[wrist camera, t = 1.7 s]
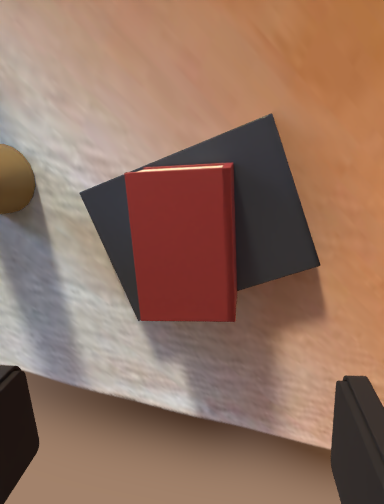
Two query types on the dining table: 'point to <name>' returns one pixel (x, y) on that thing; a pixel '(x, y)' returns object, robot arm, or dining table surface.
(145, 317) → the pocket dictionary
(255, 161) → the slate hardcover
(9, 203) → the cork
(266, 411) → the dining table surface
